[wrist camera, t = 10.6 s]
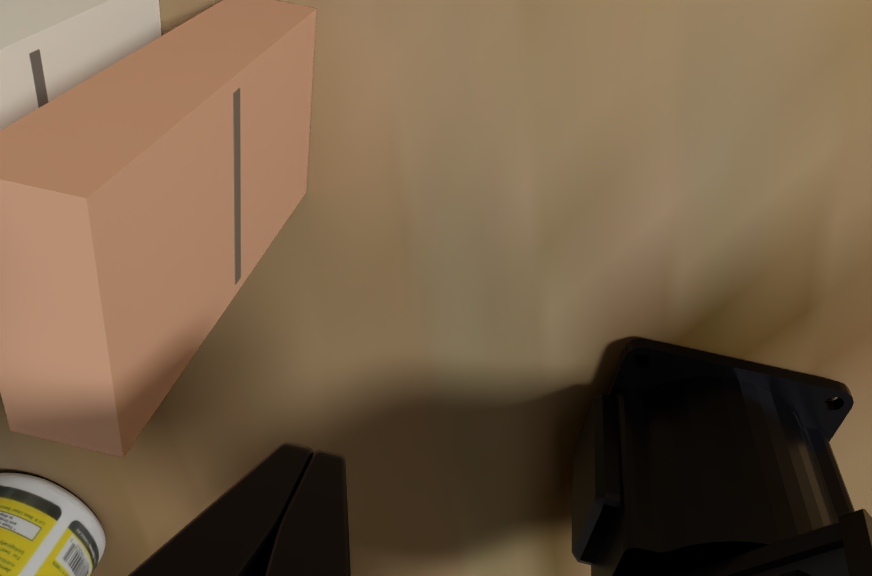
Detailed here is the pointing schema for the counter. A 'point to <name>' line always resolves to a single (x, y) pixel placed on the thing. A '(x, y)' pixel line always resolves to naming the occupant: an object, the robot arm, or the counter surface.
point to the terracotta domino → (145, 216)
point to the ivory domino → (65, 46)
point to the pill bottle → (46, 530)
